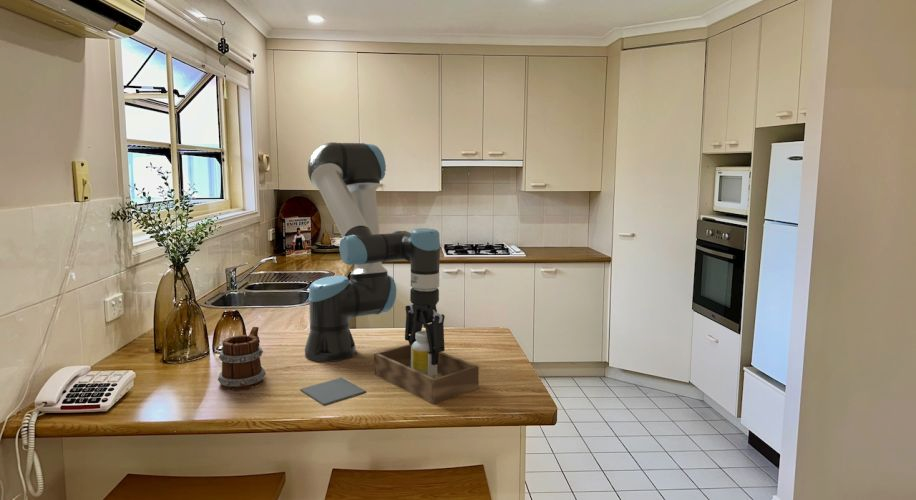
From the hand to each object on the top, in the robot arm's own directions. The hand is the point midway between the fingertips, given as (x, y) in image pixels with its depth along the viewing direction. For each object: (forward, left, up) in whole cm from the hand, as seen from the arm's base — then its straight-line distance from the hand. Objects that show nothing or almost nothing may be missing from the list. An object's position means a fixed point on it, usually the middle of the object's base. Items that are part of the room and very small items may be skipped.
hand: (423, 371), depth 149 cm
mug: (-32, -36, -3) cm, 48 cm away
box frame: (0, 0, -3) cm, 3 cm away
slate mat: (-10, -22, -3) cm, 24 cm away
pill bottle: (0, 0, -1) cm, 1 cm away
